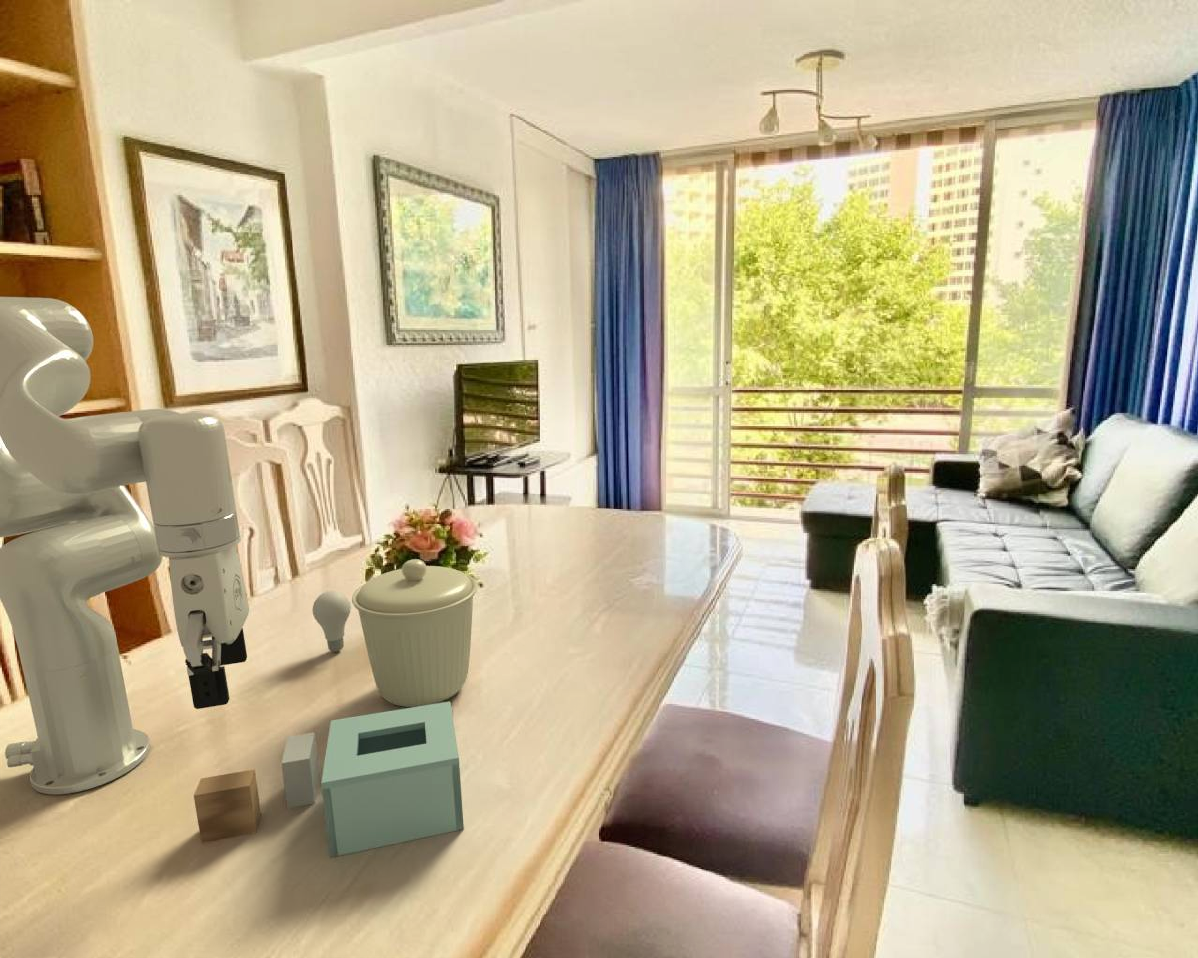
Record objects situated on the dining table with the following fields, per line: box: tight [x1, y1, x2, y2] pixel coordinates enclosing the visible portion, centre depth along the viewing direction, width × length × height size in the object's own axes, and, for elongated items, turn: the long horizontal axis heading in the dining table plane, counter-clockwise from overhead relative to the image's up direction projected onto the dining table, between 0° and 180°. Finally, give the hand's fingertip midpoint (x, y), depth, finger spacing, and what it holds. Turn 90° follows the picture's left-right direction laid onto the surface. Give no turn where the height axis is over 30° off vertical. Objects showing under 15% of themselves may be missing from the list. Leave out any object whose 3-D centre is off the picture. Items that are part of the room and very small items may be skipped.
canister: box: [351, 558, 478, 708], centre depth 104 cm, size 18×18×21 cm
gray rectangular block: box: [281, 732, 320, 809], centre depth 83 cm, size 6×3×6 cm, turn 16°
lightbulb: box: [312, 590, 352, 653], centre depth 118 cm, size 6×6×11 cm
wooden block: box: [193, 768, 262, 844], centre depth 77 cm, size 6×3×6 cm, turn 106°
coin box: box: [320, 701, 465, 858], centre depth 80 cm, size 14×12×9 cm
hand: (222, 682), depth 75 cm, fingers open, 9 cm apart
